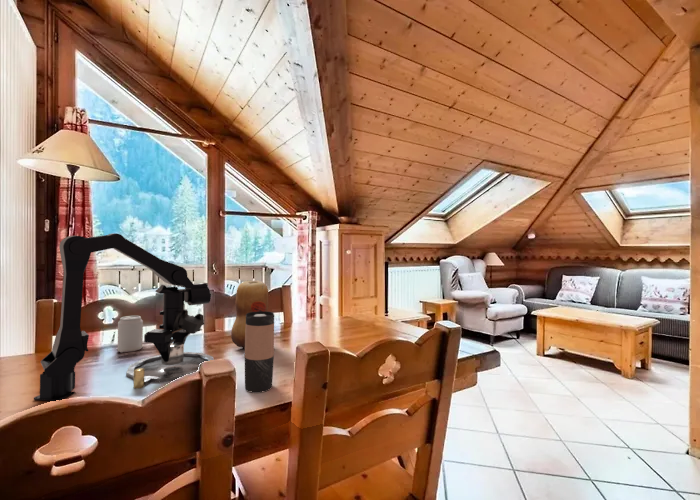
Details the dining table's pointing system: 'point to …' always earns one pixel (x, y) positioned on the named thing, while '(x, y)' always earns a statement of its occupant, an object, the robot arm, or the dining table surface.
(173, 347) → the cover
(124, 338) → the can
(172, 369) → the curvy grey metal tray
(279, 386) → the dining table surface
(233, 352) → the dining table surface
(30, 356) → the dining table surface
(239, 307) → the butternut squash
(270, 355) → the travel mug
